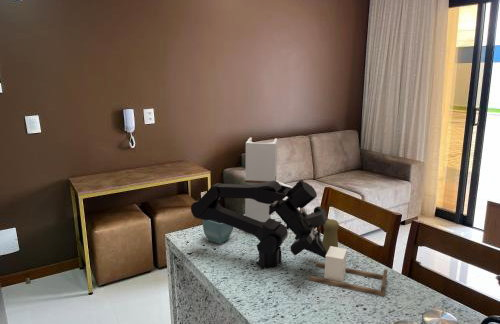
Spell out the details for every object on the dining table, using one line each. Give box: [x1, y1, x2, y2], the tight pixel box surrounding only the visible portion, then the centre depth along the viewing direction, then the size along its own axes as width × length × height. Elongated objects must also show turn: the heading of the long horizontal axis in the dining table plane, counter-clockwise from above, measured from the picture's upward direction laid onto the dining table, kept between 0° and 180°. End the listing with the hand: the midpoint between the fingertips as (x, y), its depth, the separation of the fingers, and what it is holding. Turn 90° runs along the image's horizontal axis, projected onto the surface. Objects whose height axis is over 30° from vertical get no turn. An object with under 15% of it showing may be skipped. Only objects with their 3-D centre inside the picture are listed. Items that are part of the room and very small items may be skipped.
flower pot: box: [201, 219, 234, 245], centre depth 142 cm, size 9×9×9 cm
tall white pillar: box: [244, 137, 278, 235], centre depth 149 cm, size 11×11×35 cm
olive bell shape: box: [321, 218, 340, 252], centre depth 134 cm, size 6×6×11 cm
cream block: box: [323, 246, 348, 282], centre depth 116 cm, size 5×7×8 cm
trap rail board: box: [308, 261, 388, 297], centre depth 115 cm, size 21×16×4 cm
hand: (326, 256), depth 117 cm, fingers closed, pressing on cream block
